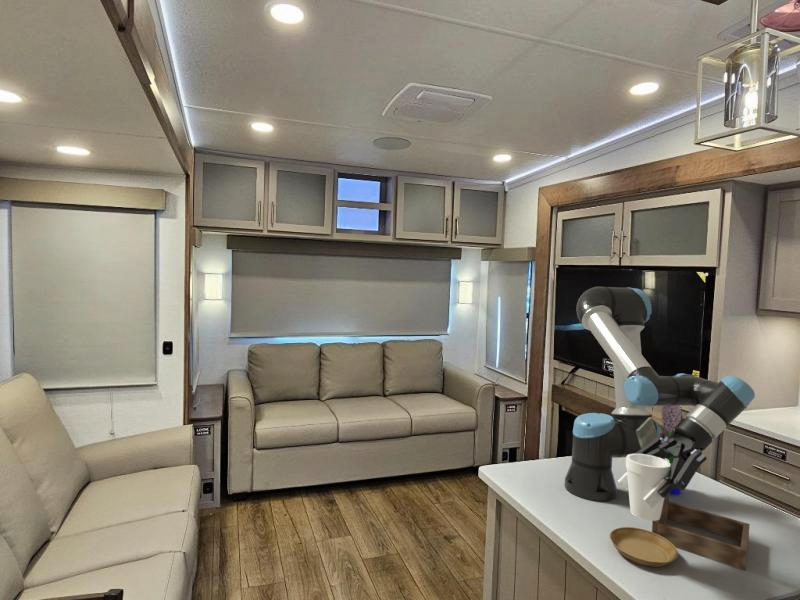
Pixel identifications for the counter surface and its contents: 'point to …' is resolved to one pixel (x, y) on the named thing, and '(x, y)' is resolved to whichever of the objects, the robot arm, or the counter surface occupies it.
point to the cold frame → (698, 523)
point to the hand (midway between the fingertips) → (634, 494)
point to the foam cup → (645, 483)
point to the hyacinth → (671, 428)
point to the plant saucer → (643, 546)
